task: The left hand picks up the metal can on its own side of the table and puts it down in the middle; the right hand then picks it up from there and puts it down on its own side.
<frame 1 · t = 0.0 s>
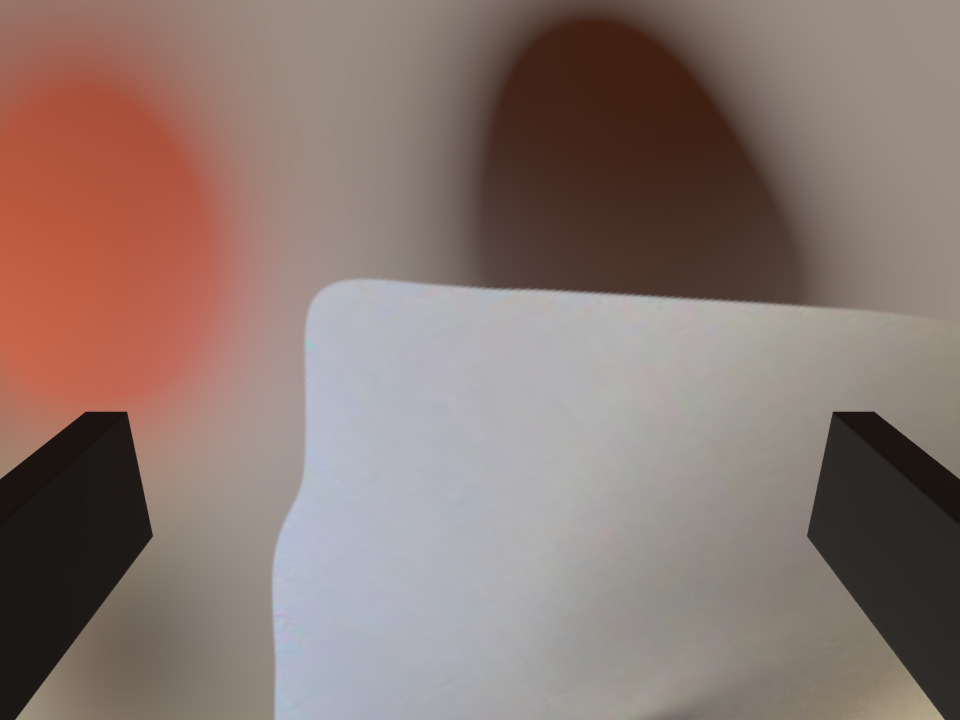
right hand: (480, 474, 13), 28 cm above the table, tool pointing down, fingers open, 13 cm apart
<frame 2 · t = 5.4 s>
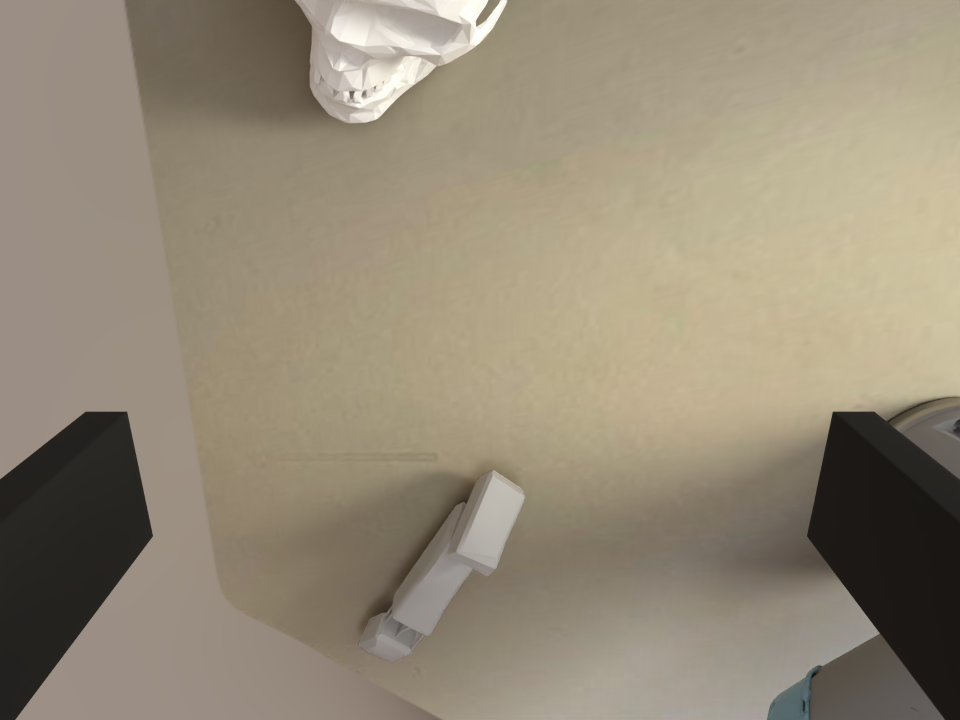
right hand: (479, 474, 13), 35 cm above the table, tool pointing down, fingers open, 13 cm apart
clamp: (439, 555, 56), on the table
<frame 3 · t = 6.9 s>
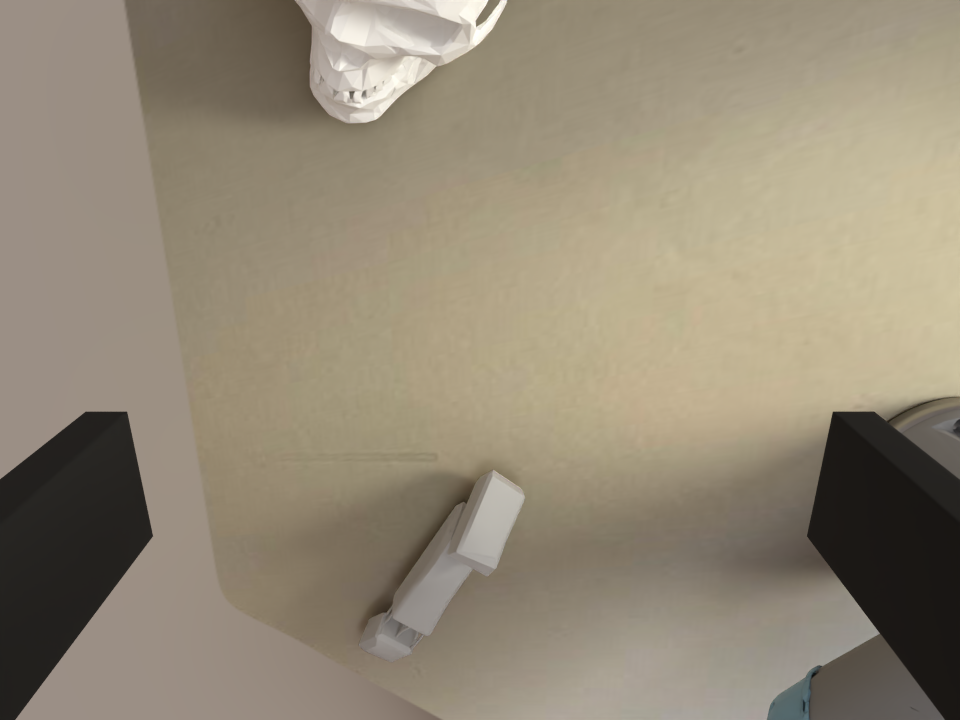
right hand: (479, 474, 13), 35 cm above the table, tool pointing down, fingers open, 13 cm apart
clamp: (439, 555, 56), on the table
when the left hand's fingers open (0 cm above the table, at t = 9.0 s): can stays where it is, on the table.
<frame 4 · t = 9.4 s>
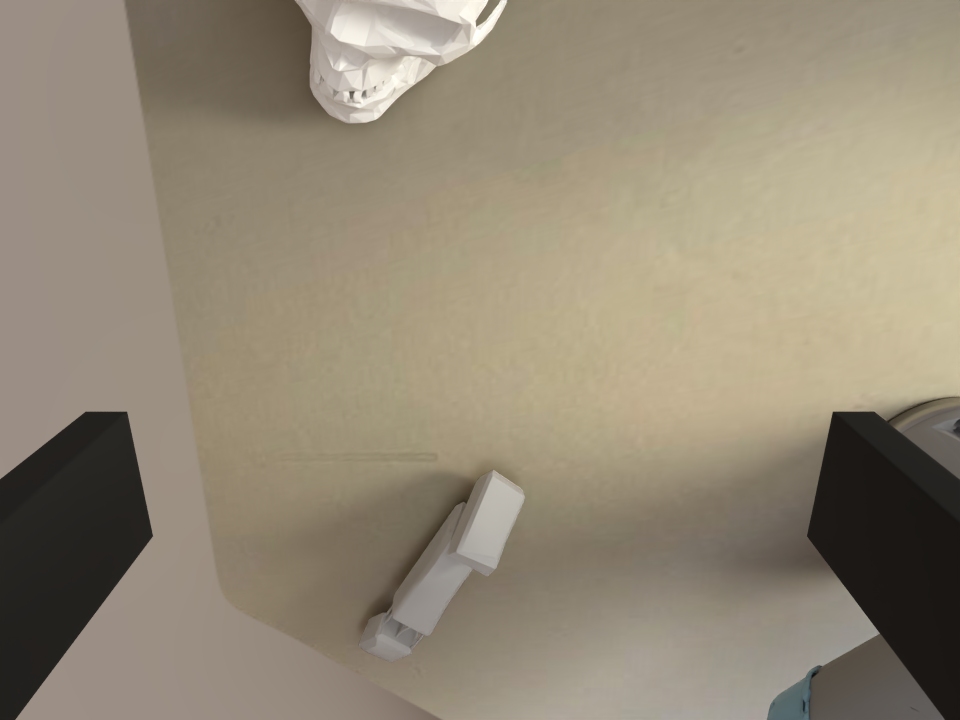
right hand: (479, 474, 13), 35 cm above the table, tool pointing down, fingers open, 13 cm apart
clamp: (439, 555, 56), on the table
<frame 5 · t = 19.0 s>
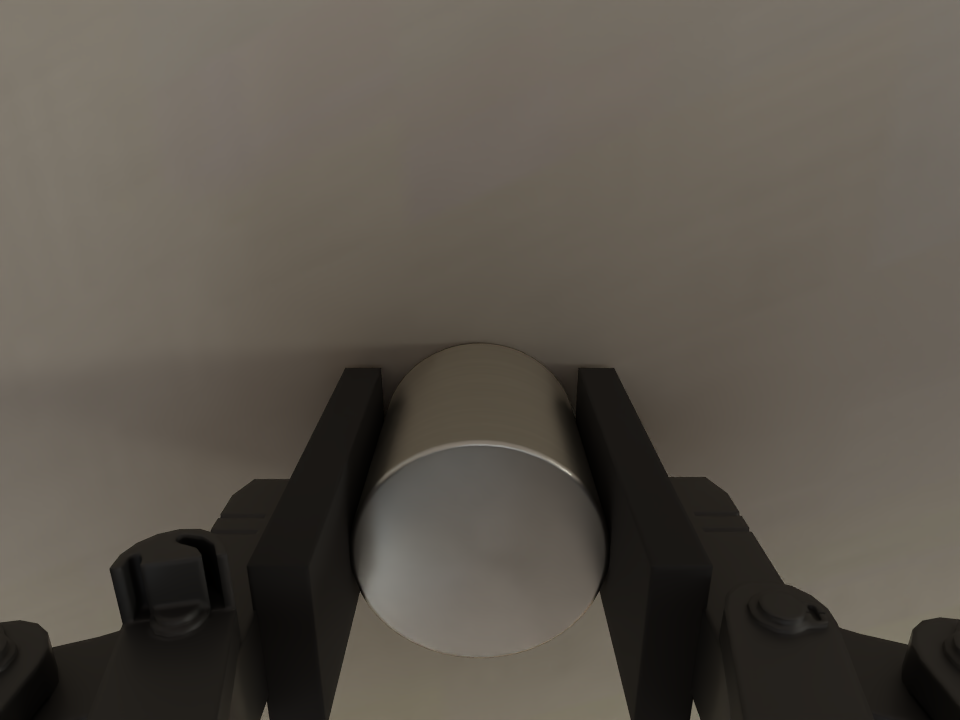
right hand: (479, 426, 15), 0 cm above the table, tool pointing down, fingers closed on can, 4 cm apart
can: (479, 430, 15), on the table, touching right hand
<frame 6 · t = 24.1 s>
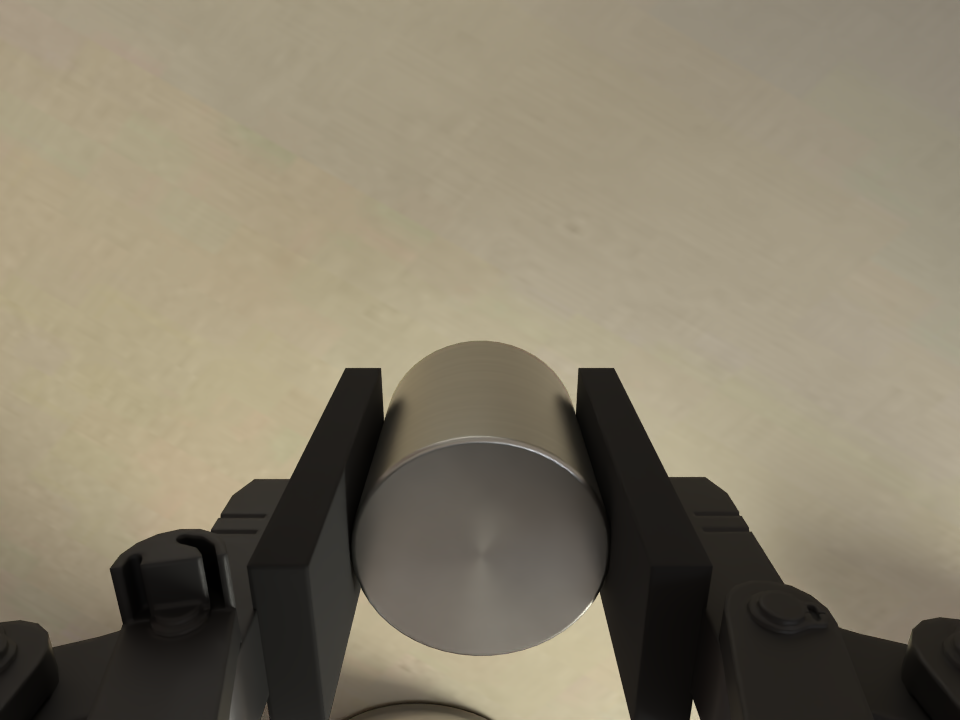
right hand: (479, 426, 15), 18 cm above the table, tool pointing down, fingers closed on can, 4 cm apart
can: (480, 428, 15), point 17 cm above the table, touching right hand
when the right hand's fingers open (0 cm above the table, at t = 29.3 s): can stays where it is, on the table.
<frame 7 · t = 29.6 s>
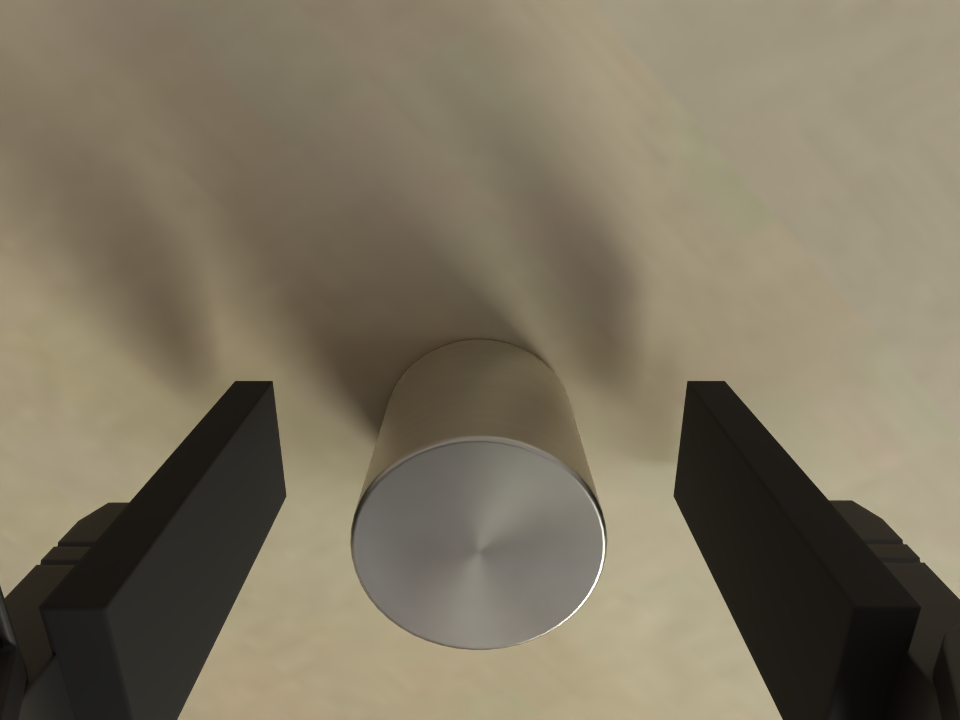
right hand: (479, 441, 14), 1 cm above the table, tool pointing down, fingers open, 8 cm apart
can: (479, 425, 15), on the table
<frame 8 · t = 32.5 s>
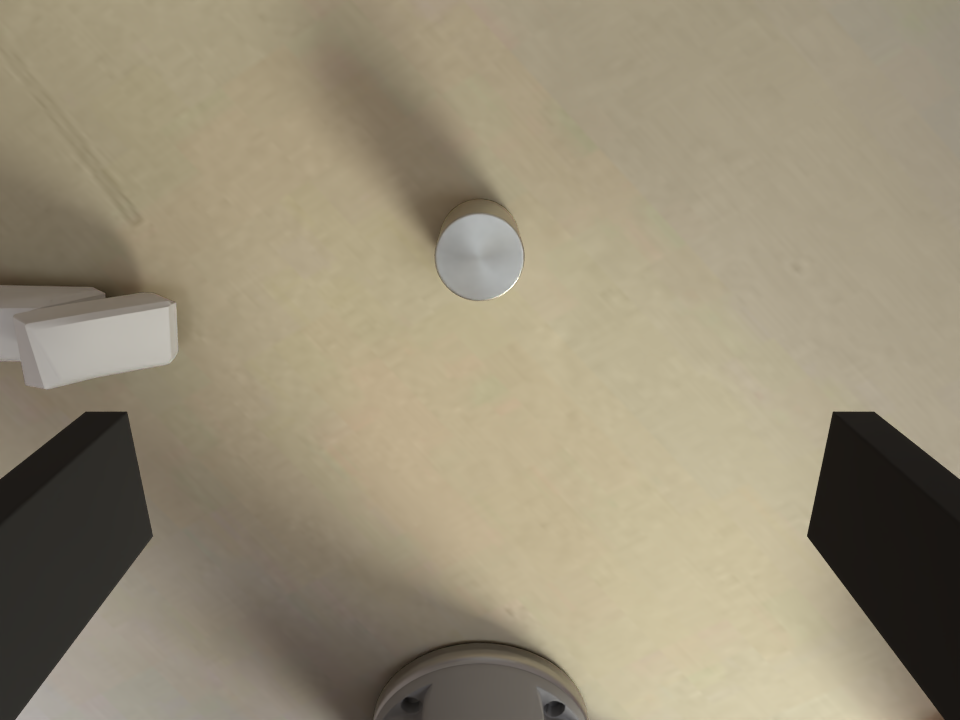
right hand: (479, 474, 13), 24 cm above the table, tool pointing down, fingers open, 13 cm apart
clamp: (7, 308, 37), on the table
can: (479, 239, 36), on the table
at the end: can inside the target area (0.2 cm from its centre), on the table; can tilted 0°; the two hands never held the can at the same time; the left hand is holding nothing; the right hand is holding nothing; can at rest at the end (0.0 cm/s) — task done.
